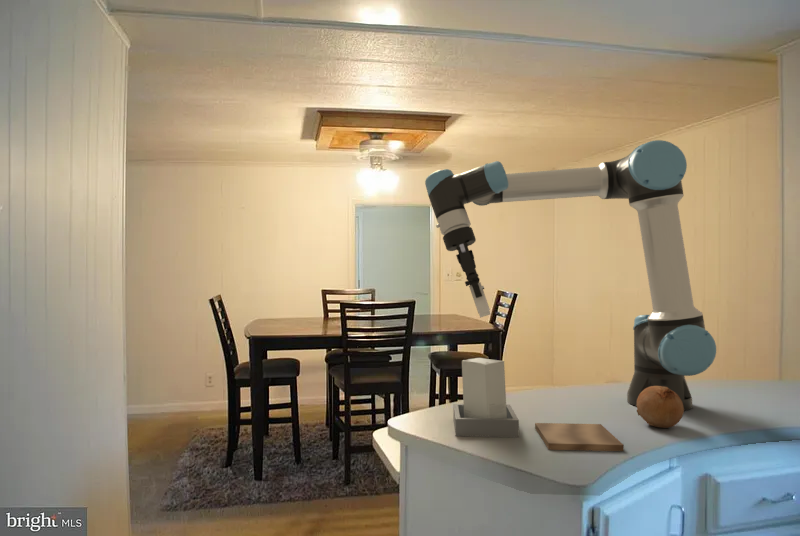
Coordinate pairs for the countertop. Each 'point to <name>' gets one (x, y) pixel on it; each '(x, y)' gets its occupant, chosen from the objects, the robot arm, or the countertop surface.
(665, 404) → the onion
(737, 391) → the countertop surface
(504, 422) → the holder
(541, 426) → the coaster
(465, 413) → the skincare box
